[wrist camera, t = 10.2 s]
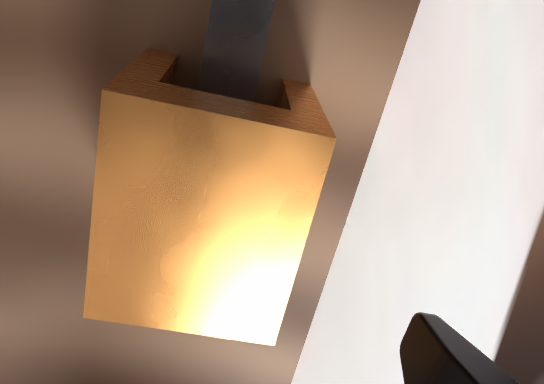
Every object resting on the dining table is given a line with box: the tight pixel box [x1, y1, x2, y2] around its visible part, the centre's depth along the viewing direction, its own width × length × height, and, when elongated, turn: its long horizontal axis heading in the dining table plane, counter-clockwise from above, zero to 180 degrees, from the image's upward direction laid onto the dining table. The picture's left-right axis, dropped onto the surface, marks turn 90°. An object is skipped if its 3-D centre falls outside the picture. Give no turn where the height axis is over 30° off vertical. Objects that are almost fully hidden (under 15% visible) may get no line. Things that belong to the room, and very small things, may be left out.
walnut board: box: [0, 0, 420, 384], centre depth 16 cm, size 33×15×1 cm, turn 167°
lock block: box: [83, 48, 337, 345], centre depth 14 cm, size 6×5×5 cm
